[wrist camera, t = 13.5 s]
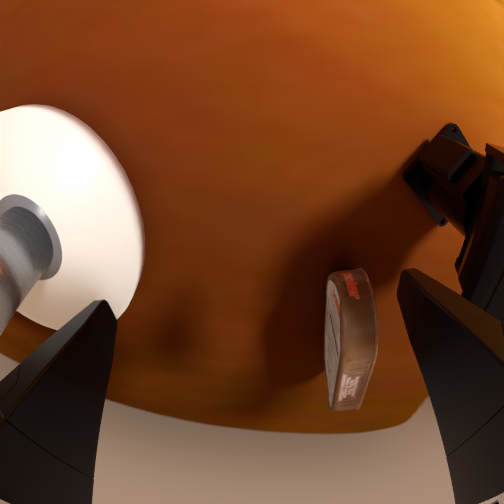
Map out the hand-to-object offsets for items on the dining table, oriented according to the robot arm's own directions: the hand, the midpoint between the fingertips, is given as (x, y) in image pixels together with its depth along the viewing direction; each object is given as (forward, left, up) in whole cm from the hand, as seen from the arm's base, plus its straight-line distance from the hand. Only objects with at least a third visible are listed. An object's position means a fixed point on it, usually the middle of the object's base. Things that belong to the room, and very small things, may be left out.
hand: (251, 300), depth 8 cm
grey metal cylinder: (+12, +14, -10) cm, 21 cm away
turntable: (+12, +14, -12) cm, 22 cm away
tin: (-15, +6, -13) cm, 21 cm away
